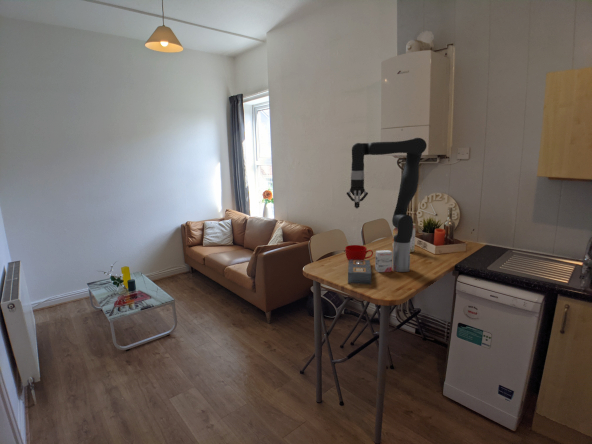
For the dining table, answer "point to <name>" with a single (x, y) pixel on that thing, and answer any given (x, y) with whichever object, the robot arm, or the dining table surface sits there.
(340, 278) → the dining table surface
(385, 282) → the dining table surface
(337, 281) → the dining table surface
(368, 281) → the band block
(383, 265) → the ink box
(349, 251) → the ceramic cup
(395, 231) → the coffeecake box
